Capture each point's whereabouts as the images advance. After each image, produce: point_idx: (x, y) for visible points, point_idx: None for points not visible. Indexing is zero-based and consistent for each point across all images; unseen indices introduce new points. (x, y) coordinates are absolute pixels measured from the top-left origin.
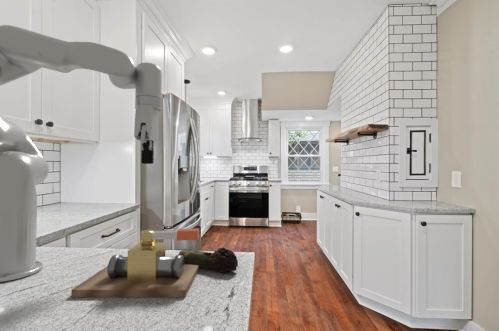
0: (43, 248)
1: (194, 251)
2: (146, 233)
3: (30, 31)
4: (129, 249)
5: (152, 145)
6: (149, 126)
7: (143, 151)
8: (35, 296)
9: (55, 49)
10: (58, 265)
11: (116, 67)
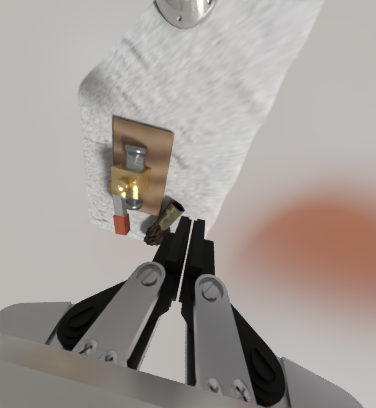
0: None
1: (166, 218)
2: (108, 187)
3: None
4: (114, 167)
5: (185, 357)
6: None
7: (166, 263)
8: (119, 79)
9: None
10: (207, 46)
11: None
